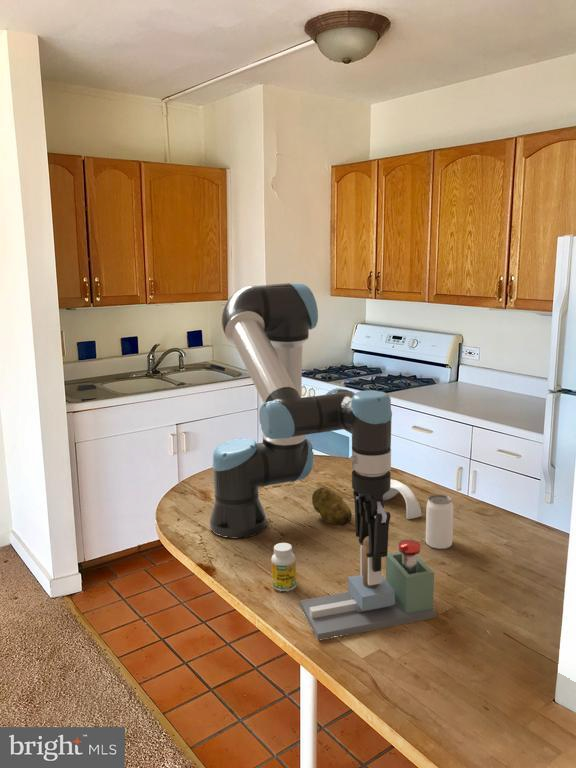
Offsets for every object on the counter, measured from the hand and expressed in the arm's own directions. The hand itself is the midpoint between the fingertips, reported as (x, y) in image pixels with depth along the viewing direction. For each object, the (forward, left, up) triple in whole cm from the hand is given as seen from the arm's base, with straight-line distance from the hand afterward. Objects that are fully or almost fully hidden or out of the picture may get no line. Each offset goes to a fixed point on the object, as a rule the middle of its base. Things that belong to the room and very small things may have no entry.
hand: (370, 578), depth 129 cm
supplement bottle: (-15, -14, -8) cm, 22 cm away
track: (0, -1, -8) cm, 8 cm away
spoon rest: (-49, +27, -8) cm, 56 cm away
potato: (-44, +7, -8) cm, 45 cm away
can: (-22, +28, -8) cm, 36 cm away
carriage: (0, 0, -6) cm, 6 cm away
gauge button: (0, +9, -3) cm, 9 cm away
